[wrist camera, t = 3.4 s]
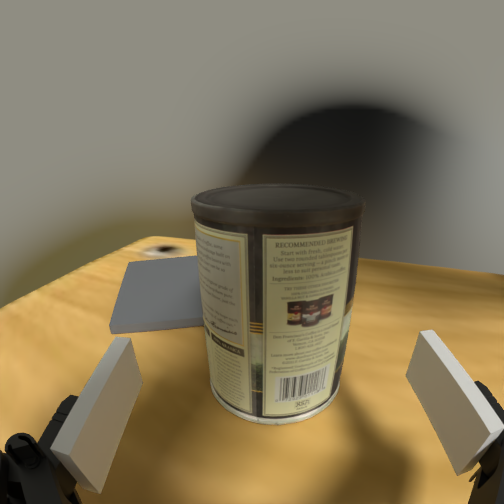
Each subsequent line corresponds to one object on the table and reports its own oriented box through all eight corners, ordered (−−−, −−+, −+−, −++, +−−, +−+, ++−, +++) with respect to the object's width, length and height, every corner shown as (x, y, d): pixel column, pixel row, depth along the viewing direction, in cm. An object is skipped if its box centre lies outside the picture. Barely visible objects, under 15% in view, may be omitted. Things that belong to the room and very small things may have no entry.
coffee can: (274, 327, 30) (276, 179, 25) (363, 373, 22) (393, 196, 18) (183, 372, 23) (160, 194, 19) (273, 451, 16) (283, 221, 11)
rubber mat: (245, 257, 48) (245, 250, 48) (284, 314, 32) (284, 305, 32) (129, 268, 44) (128, 262, 44) (111, 333, 28) (109, 325, 27)
